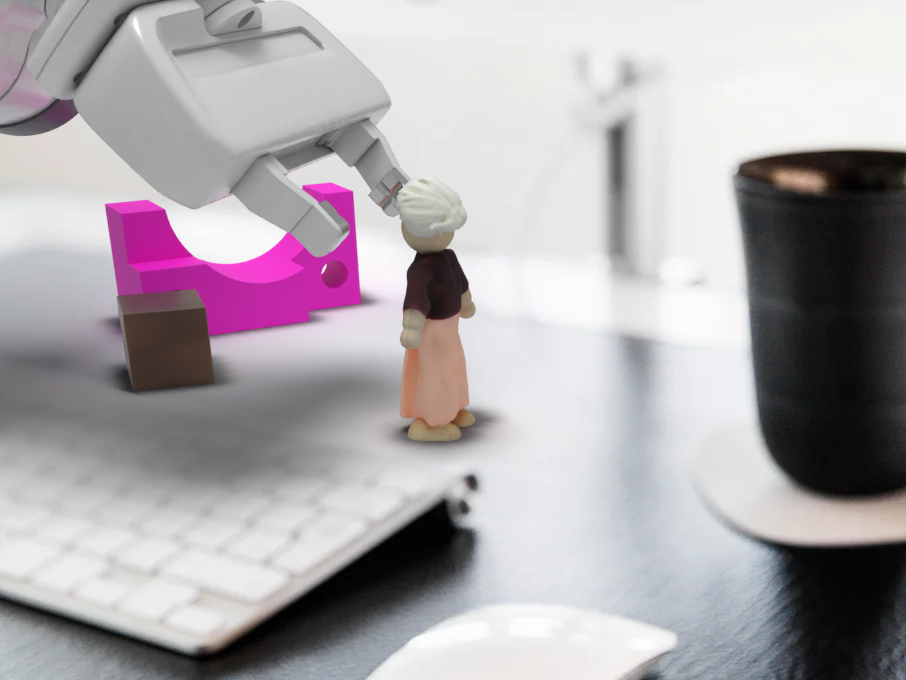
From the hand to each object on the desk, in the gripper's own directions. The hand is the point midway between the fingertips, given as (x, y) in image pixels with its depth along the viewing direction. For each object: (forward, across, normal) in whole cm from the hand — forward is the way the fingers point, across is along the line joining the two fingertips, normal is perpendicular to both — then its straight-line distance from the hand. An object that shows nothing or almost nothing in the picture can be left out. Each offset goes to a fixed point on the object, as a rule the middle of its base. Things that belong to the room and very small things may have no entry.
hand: (374, 224), depth 69 cm
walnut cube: (-4, -5, -18) cm, 19 cm away
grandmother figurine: (+9, 0, -6) cm, 11 cm away
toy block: (-4, -18, -19) cm, 27 cm away
